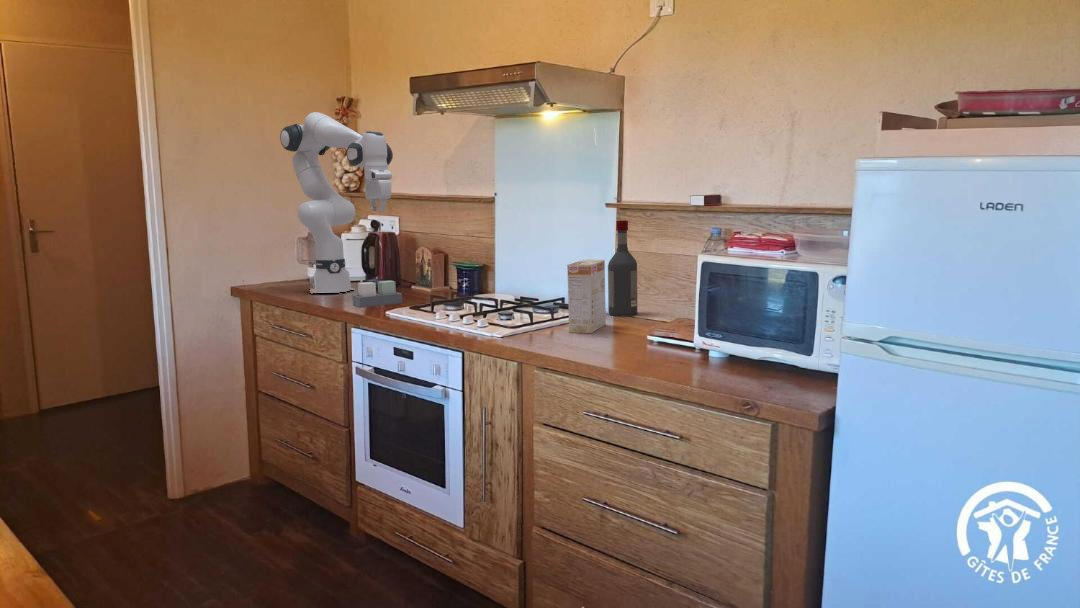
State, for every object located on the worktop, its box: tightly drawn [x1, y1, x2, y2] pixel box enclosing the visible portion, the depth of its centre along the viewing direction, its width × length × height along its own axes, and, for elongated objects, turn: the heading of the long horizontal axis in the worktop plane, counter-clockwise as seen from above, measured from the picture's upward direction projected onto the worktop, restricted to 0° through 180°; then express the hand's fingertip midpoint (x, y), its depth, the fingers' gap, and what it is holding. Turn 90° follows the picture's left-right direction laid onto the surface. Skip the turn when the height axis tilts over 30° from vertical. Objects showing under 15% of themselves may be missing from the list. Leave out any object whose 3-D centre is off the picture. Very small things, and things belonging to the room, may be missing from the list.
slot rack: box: [352, 291, 403, 308], centre depth 278 cm, size 8×16×4 cm, turn 121°
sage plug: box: [377, 280, 397, 295], centre depth 280 cm, size 5×5×8 cm
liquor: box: [607, 220, 638, 317], centre depth 242 cm, size 9×9×30 cm
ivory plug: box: [357, 281, 377, 297], centre depth 276 cm, size 5×5×8 cm
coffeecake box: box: [566, 258, 607, 334], centre depth 218 cm, size 15×7×20 cm, turn 159°
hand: (378, 211), depth 289 cm, fingers open, 8 cm apart
